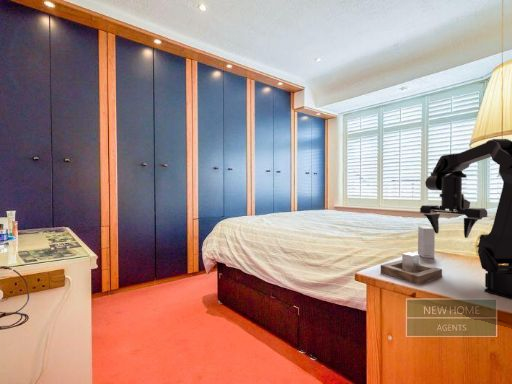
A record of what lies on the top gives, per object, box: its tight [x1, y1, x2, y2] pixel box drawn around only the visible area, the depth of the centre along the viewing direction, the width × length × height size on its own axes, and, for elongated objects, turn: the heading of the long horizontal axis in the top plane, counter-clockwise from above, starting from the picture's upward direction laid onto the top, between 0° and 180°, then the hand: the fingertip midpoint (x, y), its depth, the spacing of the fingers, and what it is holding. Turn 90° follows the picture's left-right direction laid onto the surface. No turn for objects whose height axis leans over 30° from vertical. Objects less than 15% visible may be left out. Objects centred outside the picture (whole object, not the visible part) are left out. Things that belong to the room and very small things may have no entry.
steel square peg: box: [401, 251, 420, 273], centre depth 91 cm, size 4×4×7 cm
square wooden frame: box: [380, 259, 443, 285], centre depth 91 cm, size 13×13×2 cm
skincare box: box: [417, 225, 436, 259], centre depth 113 cm, size 6×4×12 cm
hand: (450, 235), depth 95 cm, fingers open, 9 cm apart
